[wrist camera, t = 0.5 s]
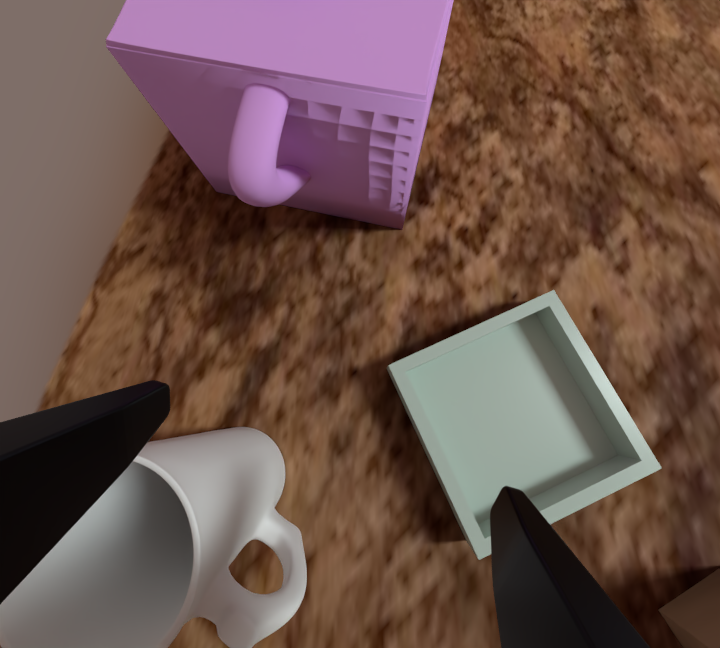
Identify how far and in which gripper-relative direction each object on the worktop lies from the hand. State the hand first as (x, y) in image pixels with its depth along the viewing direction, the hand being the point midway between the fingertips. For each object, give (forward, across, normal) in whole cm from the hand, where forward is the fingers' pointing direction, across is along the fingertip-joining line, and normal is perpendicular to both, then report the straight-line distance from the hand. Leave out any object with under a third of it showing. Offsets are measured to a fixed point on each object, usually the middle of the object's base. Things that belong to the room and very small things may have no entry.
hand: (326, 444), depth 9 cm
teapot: (+24, +8, -9) cm, 27 cm away
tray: (+14, -10, +6) cm, 18 cm away
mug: (+8, +5, +14) cm, 17 cm away
